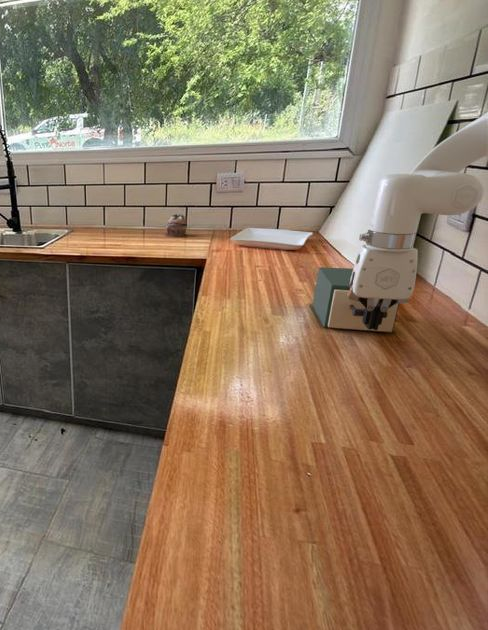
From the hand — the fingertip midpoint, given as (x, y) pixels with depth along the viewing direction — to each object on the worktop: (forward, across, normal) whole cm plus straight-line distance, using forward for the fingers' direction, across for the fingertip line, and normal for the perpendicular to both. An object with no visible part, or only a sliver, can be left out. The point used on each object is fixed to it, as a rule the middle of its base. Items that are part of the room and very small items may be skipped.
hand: (370, 327), depth 94 cm
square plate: (+4, -8, +100) cm, 101 cm away
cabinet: (+4, 0, +15) cm, 16 cm away
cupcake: (+4, -48, +113) cm, 123 cm away
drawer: (+3, 0, +11) cm, 12 cm away
